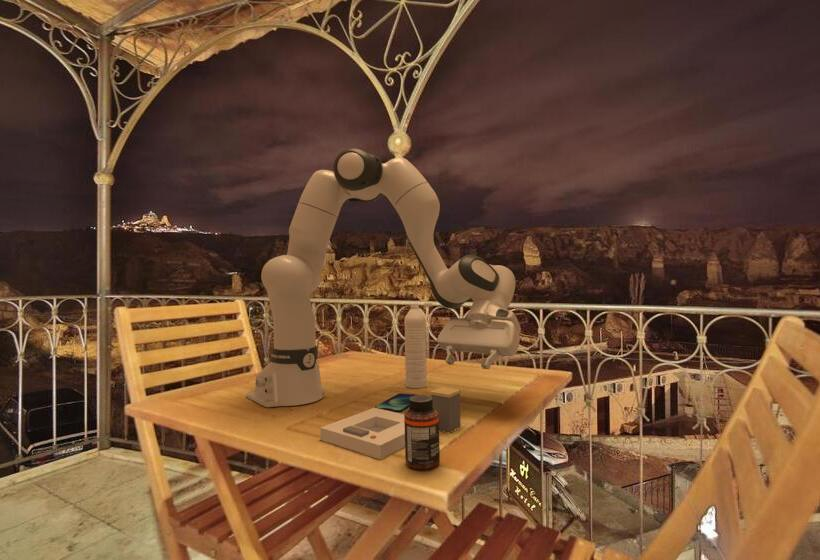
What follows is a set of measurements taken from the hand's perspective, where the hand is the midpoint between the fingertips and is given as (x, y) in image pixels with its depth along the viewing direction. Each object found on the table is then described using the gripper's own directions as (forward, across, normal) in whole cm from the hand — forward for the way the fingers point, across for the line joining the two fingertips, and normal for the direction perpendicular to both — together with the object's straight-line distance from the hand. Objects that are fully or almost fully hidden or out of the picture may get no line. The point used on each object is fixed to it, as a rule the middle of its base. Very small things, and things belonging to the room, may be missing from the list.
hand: (466, 365), depth 96 cm
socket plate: (+23, -9, -7) cm, 26 cm away
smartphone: (+9, -20, +9) cm, 24 cm away
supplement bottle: (+27, +6, -10) cm, 29 cm away
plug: (+15, 0, +2) cm, 15 cm away
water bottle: (-4, -26, +20) cm, 33 cm away
